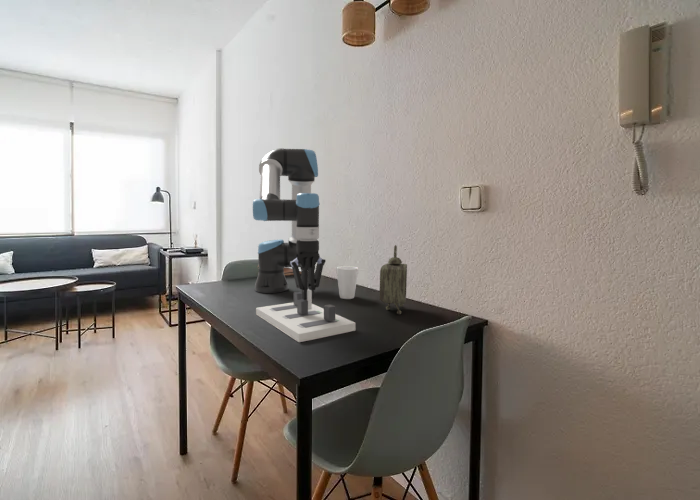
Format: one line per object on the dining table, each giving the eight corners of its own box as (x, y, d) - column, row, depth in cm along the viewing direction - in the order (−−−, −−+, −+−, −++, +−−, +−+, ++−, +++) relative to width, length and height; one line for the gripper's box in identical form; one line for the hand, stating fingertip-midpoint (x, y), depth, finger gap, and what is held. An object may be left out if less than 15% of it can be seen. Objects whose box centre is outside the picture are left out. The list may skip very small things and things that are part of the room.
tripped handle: (297, 312, 130) (297, 299, 129) (303, 311, 131) (303, 299, 131) (301, 315, 127) (301, 301, 127) (307, 313, 129) (307, 300, 128)
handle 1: (293, 304, 141) (293, 292, 141) (299, 303, 142) (299, 291, 142) (297, 306, 139) (297, 294, 138) (303, 305, 140) (303, 293, 139)
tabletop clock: (403, 316, 138) (405, 247, 135) (378, 314, 140) (380, 246, 137) (405, 306, 152) (407, 243, 149) (383, 304, 154) (384, 243, 151)
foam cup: (350, 300, 160) (350, 270, 158) (332, 297, 165) (332, 268, 163) (361, 296, 168) (362, 267, 166) (343, 293, 173) (344, 265, 171)
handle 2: (323, 319, 123) (323, 305, 122) (330, 317, 124) (330, 304, 124) (328, 321, 121) (328, 307, 120) (335, 320, 122) (335, 306, 121)
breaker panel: (256, 314, 138) (256, 307, 138) (305, 306, 149) (305, 300, 149) (298, 342, 110) (298, 333, 110) (355, 330, 121) (355, 322, 121)
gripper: (295, 241, 121) (295, 313, 123) (330, 239, 128) (329, 308, 131) (285, 239, 127) (285, 308, 130) (319, 238, 134) (318, 303, 137)
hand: (307, 308), depth 130 cm, fingers closed
